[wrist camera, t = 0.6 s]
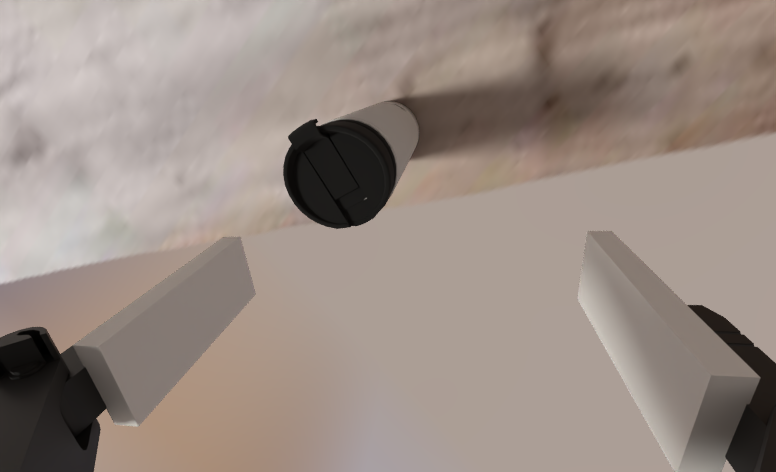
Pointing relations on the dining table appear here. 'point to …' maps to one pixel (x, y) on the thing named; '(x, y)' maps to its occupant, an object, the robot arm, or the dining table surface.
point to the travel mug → (350, 163)
